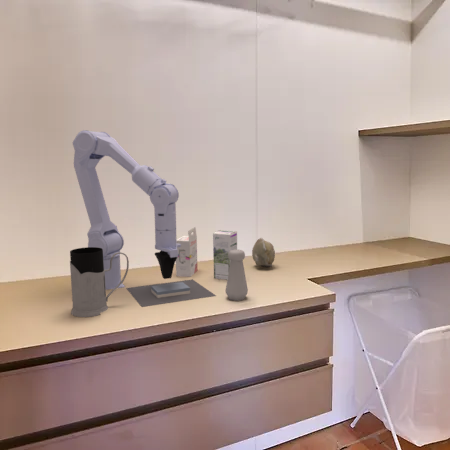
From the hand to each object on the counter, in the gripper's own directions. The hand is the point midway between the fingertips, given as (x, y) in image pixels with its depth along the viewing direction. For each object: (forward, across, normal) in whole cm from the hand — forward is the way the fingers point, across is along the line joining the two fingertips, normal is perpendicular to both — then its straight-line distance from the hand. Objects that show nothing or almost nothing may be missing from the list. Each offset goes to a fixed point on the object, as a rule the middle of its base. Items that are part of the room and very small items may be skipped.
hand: (167, 277), depth 123 cm
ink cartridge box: (+4, +15, -11) cm, 19 cm away
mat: (+4, -2, 0) cm, 4 cm away
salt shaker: (+4, -15, -14) cm, 21 cm away
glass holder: (+4, -7, +19) cm, 21 cm away
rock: (+4, +12, -37) cm, 39 cm away
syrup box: (+4, +5, -20) cm, 21 cm away
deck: (+3, 0, 0) cm, 3 cm away
